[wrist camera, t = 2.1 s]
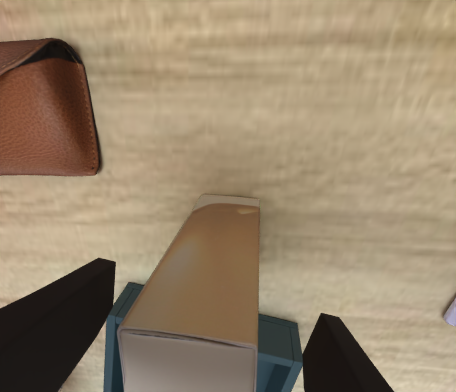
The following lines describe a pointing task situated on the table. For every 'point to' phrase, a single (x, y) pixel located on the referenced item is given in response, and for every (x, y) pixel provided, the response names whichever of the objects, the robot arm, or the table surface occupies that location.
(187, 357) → the cosmetic box
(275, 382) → the tray
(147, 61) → the table surface
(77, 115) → the sunglasses case
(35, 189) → the table surface
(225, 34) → the table surface
